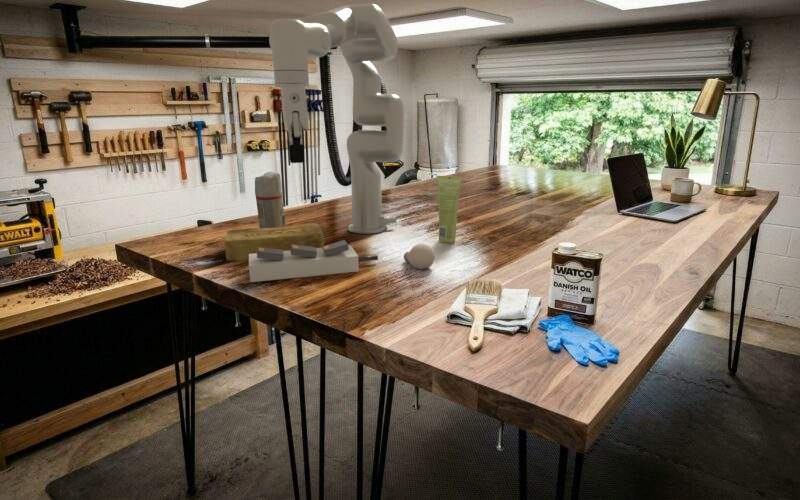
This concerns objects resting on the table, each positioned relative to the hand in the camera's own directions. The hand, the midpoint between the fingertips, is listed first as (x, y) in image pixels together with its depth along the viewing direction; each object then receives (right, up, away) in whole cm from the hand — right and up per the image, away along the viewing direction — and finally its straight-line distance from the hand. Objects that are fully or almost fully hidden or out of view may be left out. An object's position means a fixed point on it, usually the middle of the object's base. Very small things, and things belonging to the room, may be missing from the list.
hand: (297, 162), depth 119 cm
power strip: (+3, -25, +10) cm, 27 cm away
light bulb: (+29, -25, +11) cm, 40 cm away
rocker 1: (-7, -22, +4) cm, 23 cm away
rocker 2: (0, -21, +6) cm, 22 cm away
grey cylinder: (-15, -17, +40) cm, 46 cm away
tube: (+38, -18, +33) cm, 54 cm away
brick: (-11, -22, +25) cm, 35 cm away
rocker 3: (+8, -20, +8) cm, 23 cm away
